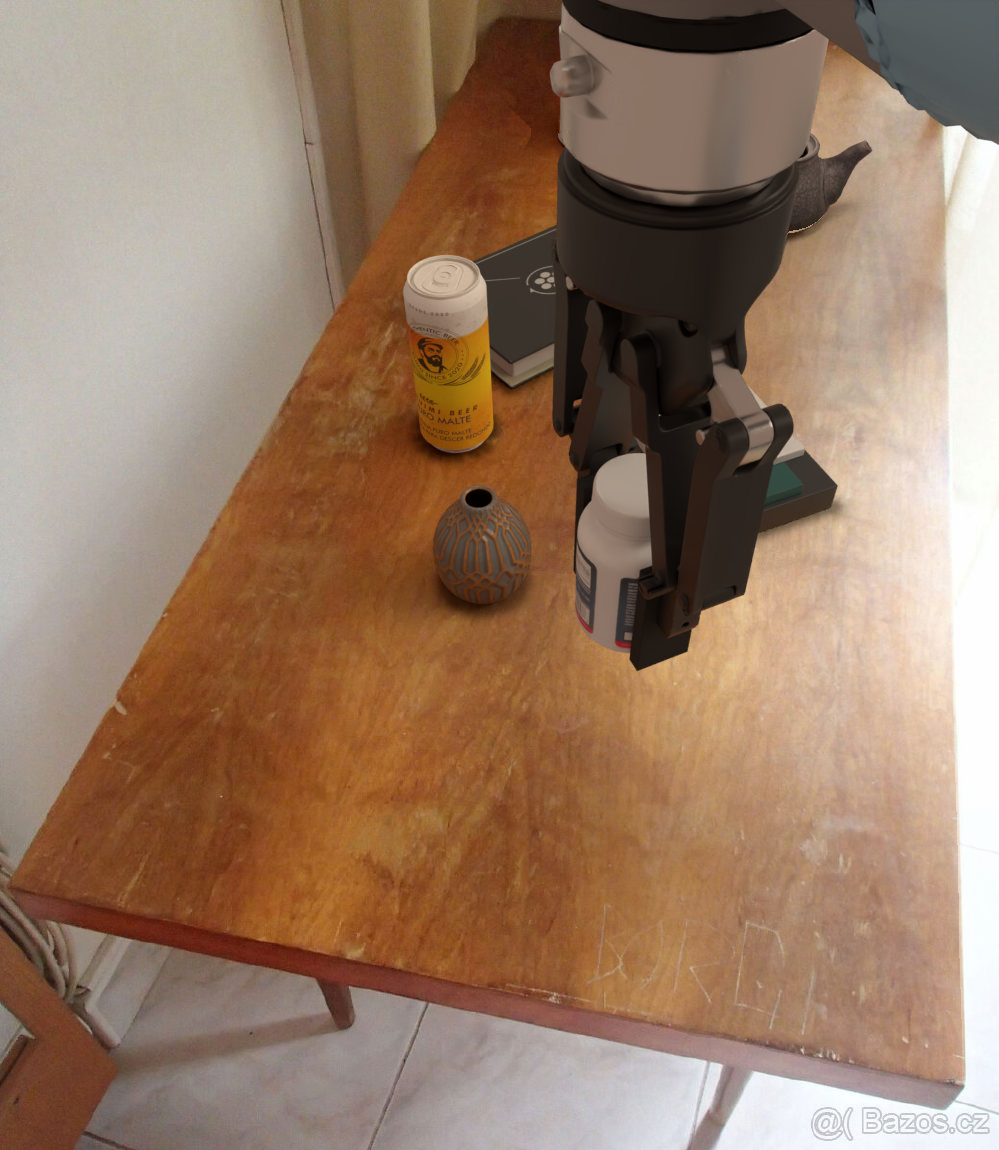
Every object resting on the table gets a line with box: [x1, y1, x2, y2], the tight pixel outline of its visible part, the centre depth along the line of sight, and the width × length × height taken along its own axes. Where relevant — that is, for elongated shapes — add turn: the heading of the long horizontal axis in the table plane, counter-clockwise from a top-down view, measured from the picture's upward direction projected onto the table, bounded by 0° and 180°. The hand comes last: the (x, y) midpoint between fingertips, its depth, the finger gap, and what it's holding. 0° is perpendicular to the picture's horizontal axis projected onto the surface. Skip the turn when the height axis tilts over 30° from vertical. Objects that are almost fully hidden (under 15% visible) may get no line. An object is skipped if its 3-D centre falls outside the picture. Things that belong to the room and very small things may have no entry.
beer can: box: [402, 254, 494, 454], centre depth 77 cm, size 6×6×15 cm
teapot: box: [788, 133, 873, 235], centre depth 101 cm, size 19×15×10 cm
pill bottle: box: [574, 453, 652, 654], centre depth 45 cm, size 5×5×9 cm
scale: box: [634, 385, 839, 534], centre depth 77 cm, size 14×12×3 cm
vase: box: [432, 484, 533, 605], centre depth 69 cm, size 7×7×9 cm
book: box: [471, 224, 557, 389], centre depth 93 cm, size 22×15×3 cm
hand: (628, 609), depth 48 cm, fingers closed on pill bottle, 5 cm apart
